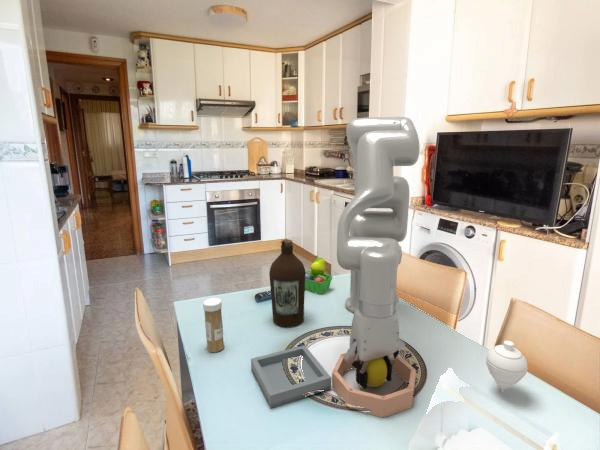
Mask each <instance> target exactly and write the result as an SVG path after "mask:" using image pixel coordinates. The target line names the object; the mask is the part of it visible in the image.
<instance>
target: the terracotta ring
mask: <svg viewBox="0 0 600 450" xmlns="http://www.w3.org/2000/svg"><path fill="white" fill-rule="evenodd" d="M346 353H347V352H343V353H341V354H340V355H339V356H338V359H337V361H336V362H335V365H334V367H333V368H332V371H331V389H333V391H334V392H335V393H336V395H339V396H340V397H342V398H343V399H344V400H345V401H346V402H347V403H348V404H351V405H356V406H360V407H364V408H367V409H370V410H372V411H370V412H366V413H365V414H369V415H372V416H377V417H380V418H387V417H389V416H391V415H394V414H397V413H400V412H402V411H404V410H405V411H406V410H408V409H411V408H412V407H413V403H414V402H413V401H414V396H413V395H415V389H414V387H416V378H417V377H416V375H417V374H416V373H417V369H416V368H415V367H413V366H412V365H411V364H410V363H408V362H407V361H406V360H405V359H404V358H402V357H401V356H400V355H399V354H398V356H397V357H396V358H395V363H394V364H392V372H394V373H395V374H396V375H398V376H399V377H400V378H401V379H402V380H403V379H404V380H406V381H407V382H409V384H408V386H407V387H406V388H403V389H400V390H397V391H394V392H392V393H389V394H386V395H378V394H375V393H370V392H367V391H363V390H358V389H355V388H352V387H351V385H350V384H349V383H348V382H347V381H346V380H345V379H344V377H343V375H344V372H345V370H346V371H348V369H349V370H352V369H351V368H353V369H355V368H354V367H353V366H352V365H350V364H348V363H347V362H346V361H345V360H344V359H343V357H344V355H345V354H346ZM357 353H358V352H357ZM357 353H356V355H355V356H354V357H353V359H356V356H357ZM382 358H384V357H382ZM361 363H362V361H361V362H360V364H361ZM342 374H343V375H342ZM404 380H403V381H404ZM339 396H338V397H339ZM340 397H339V398H340Z"/></svg>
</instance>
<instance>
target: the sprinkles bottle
mask: <svg viewBox="0 0 600 450" xmlns="http://www.w3.org/2000/svg"><path fill="white" fill-rule="evenodd" d="M202 304H203V310H204V311H203V312H204V324H205V326H204V327H205V338H206V349H207V351H208V352H210V353H218V352H220V351H222V350H224V348H225V343H224V327H223V317H222V316H223V315H222V306H223V305H222V304H223V303H222V299H220V298H218V297H211V298H208V299H205V300H204V301H203V303H202Z"/></svg>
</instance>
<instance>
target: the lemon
mask: <svg viewBox="0 0 600 450" xmlns="http://www.w3.org/2000/svg"><path fill="white" fill-rule="evenodd" d="M365 371H366V372H367V374H368V375H367V386H370V387H372V388H378V387H380V386H382V385H383V384H384V383H385V382H386V381H387V380H386V377H387V366H386V363H385V361H384V359H383V358H382V357H379V358H376V359H372V360H369V361H368V364H367V367H366V370H365Z"/></svg>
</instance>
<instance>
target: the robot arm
mask: <svg viewBox="0 0 600 450" xmlns="http://www.w3.org/2000/svg"><path fill="white" fill-rule="evenodd" d="M345 132H346V139H347V144H348V145H349V148H350V151H351V153H352V156H353V160H354V190H353V191H354V192H353V193H354V197H353V198H352V199H351V200H350V201H349V202H348V203H347V205H346V206H345V207H344V209H343V210H342V212H341V214H340V217H339V219H338V223H337V231H336V232H337V233H336V234H337V235H336V258H337V263H338V265H339V266H340V268H342V269H343V270H347V271H350V288H349V291H350V293H349V297H348V298H347V299H346V300H345V302H344V303H345V304H344V306H345V308H346V310H348V311H349V312H351V313H353V317H352V322H351V328H350V335H349V348H348V350H347V351H346V352H345V353H346V354H345V355H344V357H343V359H344V360H345V361H346V362H347V363H348V364H350V365H352V366H353V367H354V368H353V369H355V381H356V383H357V384H358V385H359V386H360V387H361V388H362V389H363V390H367V388H368V384H367V375H368V374H367V372H366V371H365V370H366V367H367V364H368V361H369V360H372V359H376V358H379V357H384V358H383V359H384V361H385V363H386V366H387V377H386V380H385V381H387V382H391V381H392V374H393V373H392V372H393V370H392V364H394V363H395V358H396V357H397V356H398V355H399V354H400V351H402V349H404V347H405V346H406V343H405V342H404V341H403V340H402V339H401V337H400V321H399V316H398V315H399V314H398V311H397V310H396V304H397V303H399V302H400V298H399V296H397V283H398V282H397V281H398V280H397V279H398V268H399V265H400V264H401V262H402V258H403V253H402V252H403V250H402V246H401V245H400V244H399V243H401V242H403V241H404V240H405V239H406V237H407V234H408V233H407V232H408V224H409V223H408V220H409V208H410V185H409V182H408V180H407V179H406V178H405V177H404V176H403V177H402V176H397V175H396V176H395V175H394V167H411V166H414V165H415V164H416V163H417V162H418V160H419V156H420V149H421V148H420V137H419V135H418V132H417V129H416V127H415V125H414V122H413V121H412V119H411V118H409V117H406V116H405V117H404V116H391V117H390V116H385V117H384V116H382V117H381V116H379V117H378V116H375V117H374V116H371V117H368V116H367V117H360V118H358V117H357V118H354V119H352V120H350V121H349V122H348V123H347V124H346V131H345ZM368 209H390V210H391V211H389V210H386V211H383V210H382V211H381V210H368ZM357 352H358V353H357ZM356 353H357V356H356V359H353V357H354V356H355V355H356ZM361 361H362V363H361V364H360V362H361Z"/></svg>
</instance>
